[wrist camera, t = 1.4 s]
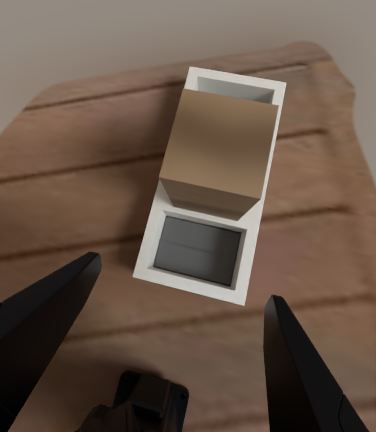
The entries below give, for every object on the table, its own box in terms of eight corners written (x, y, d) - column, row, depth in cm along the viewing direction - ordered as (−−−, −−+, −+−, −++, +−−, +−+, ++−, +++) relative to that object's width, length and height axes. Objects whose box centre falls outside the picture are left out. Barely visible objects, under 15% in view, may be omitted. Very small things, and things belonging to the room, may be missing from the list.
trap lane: (238, 299, 22) (244, 305, 19) (141, 274, 23) (132, 276, 20) (276, 102, 26) (286, 82, 23) (191, 87, 27) (190, 66, 24)
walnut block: (237, 221, 21) (260, 199, 13) (173, 206, 21) (158, 177, 13) (249, 160, 22) (278, 105, 14) (188, 148, 22) (183, 88, 14)
